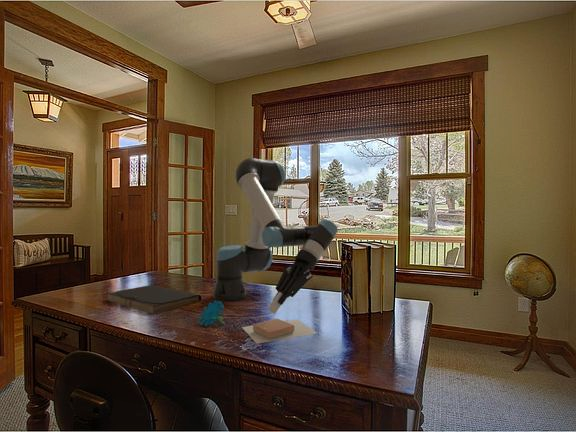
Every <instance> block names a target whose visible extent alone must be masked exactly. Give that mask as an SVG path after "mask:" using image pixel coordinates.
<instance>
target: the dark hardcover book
mask: <svg viewBox="0 0 576 432" xmlns="http://www.w3.org/2000/svg"><path fill="white" fill-rule="evenodd" d="M106 294H107V301H108V302H111V303H114V304H118V305H121V306H125V307H129V308H130V309H136V310H140V311H143V312H147V313H149V314H152V315H155V314H159V313H163V312H167V311H170V310H173V309H176V308H180V307H183V306H187V305H191V304H193V303H194V304H195V303H197V302H200V301H202V296H201V294H196V293H192V292H187V291H182V290H178V289H174V288H169V287H164V286H159V285H154V284H149V285H144V286H139V287H134V288H133V287H132V288H126V289H120V290H116V291H113V292H108V293H106Z"/></svg>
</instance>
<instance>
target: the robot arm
mask: <svg viewBox="0 0 576 432" xmlns="http://www.w3.org/2000/svg"><path fill="white" fill-rule="evenodd" d="M285 180H286V170H285V168H284V166H283V164H282V163H281V162H279V161H276V160H273V159H262V158H255V157H249V158H245V159H243V160H242V161H241V162H239V164H238V165H237V167H236V170H235V181H236V183H237V184H236V185H238V188H239V189H240V190H241V191H243V192H244V194H245V196H246V198H247V200H248V202H249V204H250V205H251V207H252V217H251V223H250V224H251V225H250V232H249V239H248V240H247V241H246V242H245V243H244V244H245V246H244V247H243V245H242V244H241V245H240V244H234V245H227V246H222V247H220V248H218V250H217V253H216V282H215V285H214V288H213V290H212V298H213V299H215V300H216V301H217V300H218V301H238V300H242V299H245V298H246V296H247V292H246V291H247V290H246V288H245V284H244V281H243V273H250V272H260V271H265V270H268V268H270V267H271V264H272V262H273V260H274V259H273V255H274V254H273V251H272V249H271V248H277V249H278V248H283V247H298V246H299V247H300V246H302V247H301V249H300V250H299V251H298V253H297V254H296V255H295V257H294V262H293V263H292V264H291V265H290V266H284V267H283V272H282V274H281V276H280V278H279V280H278V281H277V284H276V286H275V290H276V291H277V292H276V294H275V295H274V297H273V299H272V301H271V303H270V304H269V306H268V307H267V309H268V310H269V312H271V313H272V314H275V315H276V313H277V312H278V311H279V309H280V308H281V306H283V305H284V304H285V301H286V300H287V299H288V298H290V297H291V298H293V297H294V296H296V295H297V294H298V292H299V291H301V289H302V288H303V287H304V286H305V284H306V283H308V281H310V280H311V279H313V277H314V276H313V275H312V274H311V271H313V270H314V268H315V267H316V265H317V264H318V261H320V259H321V258H322V256H323V255H324V253H325V251H327V249H328V247H329V246H330V244H331V243H332V241H333V240H334V239H335V236H336V235H337V233H338V227H337V225H336V223H334V222H333V221H331V220H330V219H327V218H324V219H321V220H320V221H319V222H318V224H317V225H297V226H295V225H293V226H291V225H289V226H286V225H285V224H284V223H283V221H282V219H281V217H280V216H279V214H278V213H277V211H276V209H275V206H274V198H275V197H274V196H275V194H276V193H278V191H279V187H282V186H283V185H284V183H285Z"/></svg>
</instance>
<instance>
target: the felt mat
mask: <svg viewBox="0 0 576 432" xmlns="http://www.w3.org/2000/svg"><path fill="white" fill-rule="evenodd" d="M284 321H285V322H287V323H290V324H292V325H294V331H293V333H291V334H288V335H284V336H281V337H278V338H274V339H271V340H269V339H267V338H265V337H263V336H261V335H259V334H257V333H255V332H254V331H253V325H248V326H242V327H241V328H242V329H243V330H244V331H245V332H246V334H248V336H249V337H250V338H251V339H252V340H253V341H254V342H255V343H256V344H263V343H269V342H275V341H280V340H286V339H287V340H288V339H292V338H298V337H299V338H300V337H303V336H309V335H316V334H318V332H317V331H315V330H314V329H312V328H311V327H309V326H308V325H306V324H305V323H303V322H302V321H301V320H299V319H289V320H284Z"/></svg>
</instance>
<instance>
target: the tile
mask: <svg viewBox="0 0 576 432" xmlns="http://www.w3.org/2000/svg"><path fill="white" fill-rule="evenodd" d="M285 321H286V320H282V319H280V318H274V319H269V320H265V321H262V322H258V323H254V324H252V326H253V331H254V332H255V333H257V334H259V335H261V336H263V337H265V338H267V339H269V340H271V339H274V338H278V337H281V336H284V335H288V334H291V333H293V331H294V325H292V324H290V323H287V322H285Z"/></svg>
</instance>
